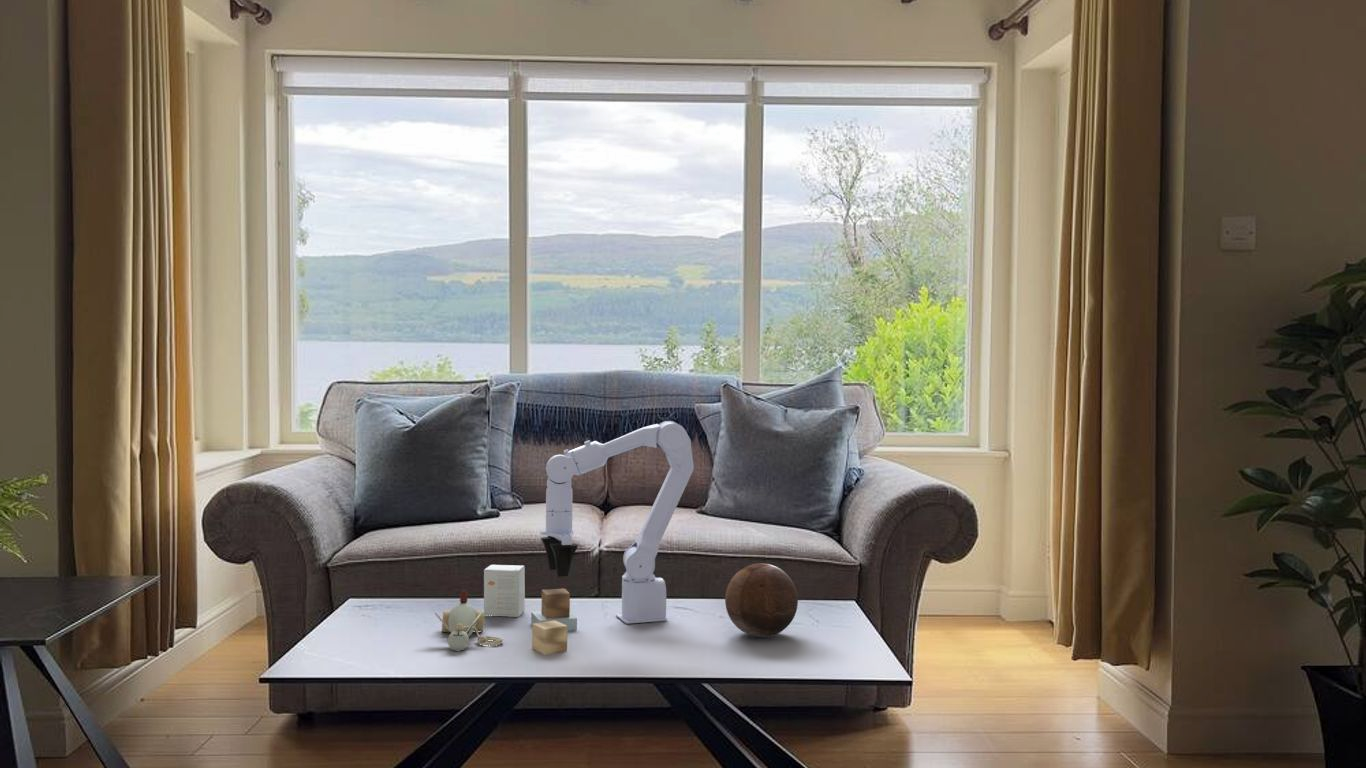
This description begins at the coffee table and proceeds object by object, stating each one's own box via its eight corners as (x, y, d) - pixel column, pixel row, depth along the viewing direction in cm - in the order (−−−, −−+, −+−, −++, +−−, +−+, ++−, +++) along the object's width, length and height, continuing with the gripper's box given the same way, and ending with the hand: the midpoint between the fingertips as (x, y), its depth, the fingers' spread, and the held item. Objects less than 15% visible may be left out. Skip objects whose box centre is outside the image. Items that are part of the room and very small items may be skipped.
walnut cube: (564, 611, 227) (564, 588, 227) (569, 617, 223) (569, 593, 223) (541, 613, 226) (541, 589, 226) (546, 618, 221) (546, 594, 221)
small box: (525, 611, 237) (525, 565, 237) (518, 618, 232) (519, 570, 231) (490, 610, 238) (490, 564, 238) (483, 616, 232) (483, 568, 232)
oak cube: (554, 645, 210) (554, 620, 210) (567, 651, 206) (567, 625, 206) (532, 649, 207) (532, 623, 207) (544, 655, 203) (544, 629, 203)
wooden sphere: (811, 636, 220) (812, 564, 219) (766, 650, 209) (767, 574, 208) (755, 623, 230) (756, 554, 230) (709, 635, 219) (710, 563, 219)
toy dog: (447, 655, 203) (447, 609, 203) (420, 632, 219) (420, 589, 219) (508, 647, 209) (508, 602, 209) (477, 626, 225) (478, 584, 225)
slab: (567, 623, 230) (567, 609, 230) (576, 632, 222) (577, 618, 222) (531, 625, 227) (531, 611, 227) (539, 635, 219) (539, 620, 219)
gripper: (533, 506, 235) (533, 567, 235) (548, 515, 221) (548, 580, 221) (564, 505, 237) (564, 565, 237) (581, 514, 224) (580, 578, 224)
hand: (558, 572), depth 230 cm, fingers open, 7 cm apart
